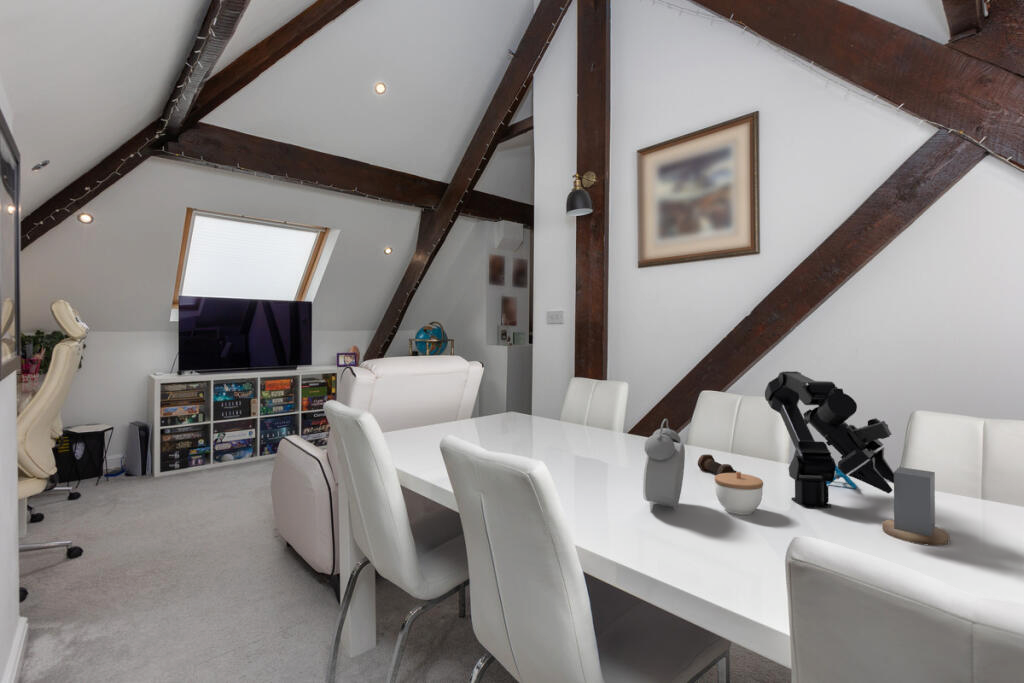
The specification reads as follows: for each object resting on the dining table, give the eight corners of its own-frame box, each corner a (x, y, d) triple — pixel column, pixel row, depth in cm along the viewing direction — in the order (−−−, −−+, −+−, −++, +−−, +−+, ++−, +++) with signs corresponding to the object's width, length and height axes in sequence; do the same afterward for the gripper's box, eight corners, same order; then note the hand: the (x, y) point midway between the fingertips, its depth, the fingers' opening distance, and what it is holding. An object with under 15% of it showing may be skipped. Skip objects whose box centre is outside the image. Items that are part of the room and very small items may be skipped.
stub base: (909, 545, 101) (909, 522, 101) (870, 525, 112) (869, 504, 112) (963, 544, 101) (963, 521, 101) (919, 524, 112) (919, 503, 112)
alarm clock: (653, 495, 135) (652, 413, 134) (687, 499, 131) (686, 415, 131) (640, 515, 120) (639, 423, 120) (678, 520, 116) (677, 425, 116)
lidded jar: (725, 500, 130) (725, 464, 130) (769, 510, 122) (769, 471, 122) (707, 510, 122) (707, 472, 122) (753, 522, 115) (753, 480, 115)
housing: (894, 528, 107) (893, 472, 107) (899, 521, 111) (899, 467, 111) (930, 536, 102) (930, 477, 102) (934, 528, 107) (934, 472, 106)
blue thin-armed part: (859, 487, 134) (828, 457, 139) (841, 501, 136) (810, 470, 140) (858, 483, 143) (829, 454, 148) (841, 495, 145) (812, 467, 150)
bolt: (733, 490, 145) (702, 474, 160) (746, 480, 146) (715, 465, 161) (724, 473, 144) (694, 459, 159) (738, 463, 145) (707, 450, 160)
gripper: (855, 412, 106) (923, 474, 99) (871, 403, 120) (932, 457, 112) (813, 444, 112) (874, 505, 104) (833, 432, 125) (888, 485, 118)
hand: (894, 487), depth 109 cm, fingers open, 9 cm apart
